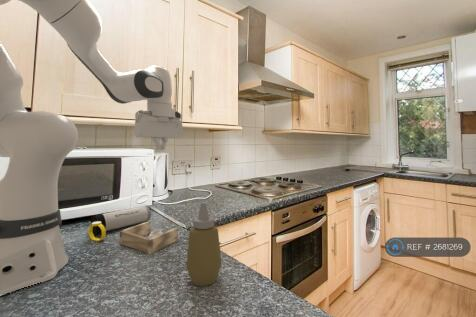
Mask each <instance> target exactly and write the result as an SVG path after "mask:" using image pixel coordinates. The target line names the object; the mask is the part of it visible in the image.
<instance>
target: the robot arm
mask: <svg viewBox="0 0 476 317" xmlns="http://www.w3.org/2000/svg"><path fill="white" fill-rule="evenodd" d="M10 1H11V0H0V6H2V5H5V4H7V3H9V2H10ZM18 1H20V2H22V3H24V4H25V5H26V6H28V7H30V8H32V9H33V10H34V11H36V12H37V13H38V14H39V15H40V16H41V17H42V18H43V19H44V20H45V21H46V22H47V23H48V24H49V26H51V27H52V28H53V29H54V30H55V31H56V32H57V34H59V35H60V36H61V37H62V39H64V41H65V42H66V44H67V46H68V48H69V50H70V51H71V52H72V53H73V54H74V55H75V58H77V59H78V60H79V61H80V62H81V64H83V66H85V68H86V69H87V70H88V71H89V72H90V73H91V74H92V75H93V76H94V77H95V78H96V79H97V81H99V83H100V84H101V85H102V87H103V89H104V90H105V91H106V93H107V95H108V96H109V97H110V98H111V99H112V100H113V101H114V102H116V103H118V104H123V105H124V104H129V103H132V102H139V101H140V102H141V101H146V110H141V109H139V110H138V111H136V113H135V114H134V116H135V118H134V119H135V121H134V126H133V127H134V128H133V134H134V136H135V137H136V138H152V141H153V143H154V145H155V150H156V151H165V150H166V145H167V143H168V139H181V138H182V137H183V135H184V134H183V133H184V132H183V131H184V130H183V122H182V119H183V114H182V113H180V112H179V111H177V110H176V109H174V108H173V102H172V94H173V88H172V87H173V86H172V78H171V74H170V71H168V69H167V68H165V67H163V66H161V65H159V66H158V65H151V66H149V67H148V68H145V69H137V70H131V71H128V72H120V71H117V70H115V69H114V67H112V66H111V64H110V63H109V61H108V60H107V59H106V58H105V57H104V55H102V54H101V52H100V51H99V48H98V45H97V44H98V41H99V39H100V37H101V36H102V31H103V24H102V23H103V22H102V19H101V16H100V14H99V13H98V11H97V10H96V8H95V7H94V5H93V4H92V3H91V2H90V1H89V0H18ZM23 86H24V79H23V76H22V75H21V72H20V71H19V70H18V68H17V66H16V64H15V63H14V61H13V60H12V58H11V56H10V55H9V53H8V50H7V49H6V48H5V46H4V44H3V43H2V41H1V40H0V157H1V158H9V162H8V166H7V169H6V172H5V174H4V176H3V177H2V179H0V294H2V293H5V292H10V291H13V290H17V289H21V288H24V287H27V288H29V287H28V286H30V287H32V286H31V285H33V286H35V285H34V284H36V285H38V284H37V283H39V284H41V283H44V282H47V281H50V280H52V279H54V278H56V276H57V275H58V272H59V271H60V270H61V269H63V268H64V267H65V266H66V265H67V264H68V262H69V256H68V255H67V252H66V250H65V247H64V242H63V238H62V232H61V230H62V215H61V214H62V213H61V209H60V208H59V199H58V197H59V196H58V193H59V192H58V182H59V175H60V172H61V169H62V165H63V163H64V161H65V159H66V158H67V156H68V155H69V154H70V153H71V152H72V151H73V150H74V149H75V148H76V146H77V144H78V141H79V131H78V128H77V127H76V125H75V123H74V122H73V121H72V120H71V119H70V118H68V116H64V115H63V114H62V115H61V114H58V113H53V112H50V111H49V112H48V111H44V110H43V111H37V110H36V111H28V110H27V109H26V107H25V105H24V103H23V99H22V92H21V91H22V88H23ZM160 141H161V143H160ZM40 282H41V283H40ZM24 289H25V288H24ZM21 290H22V289H21Z"/></svg>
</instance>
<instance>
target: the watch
mask: <svg viewBox="0 0 476 317" xmlns="http://www.w3.org/2000/svg"><path fill="white" fill-rule="evenodd" d="M93 226H98V227H100V229H101V231H102V232H101V237H100V238H98V237H95V236H96V235H93V232H92V229H93ZM87 231H88V232H87V234H88V237H89V239H90V240H91V241H94V242H100V241H101V242H102V241H103V240H104V239H105V238H106V237H107V235H106V234H107V231H106V230H105V227H104V226H103V225H102V223H101V221H97V222H93V223H92V225H91V224H90V225H89V227H88V230H87Z"/></svg>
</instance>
